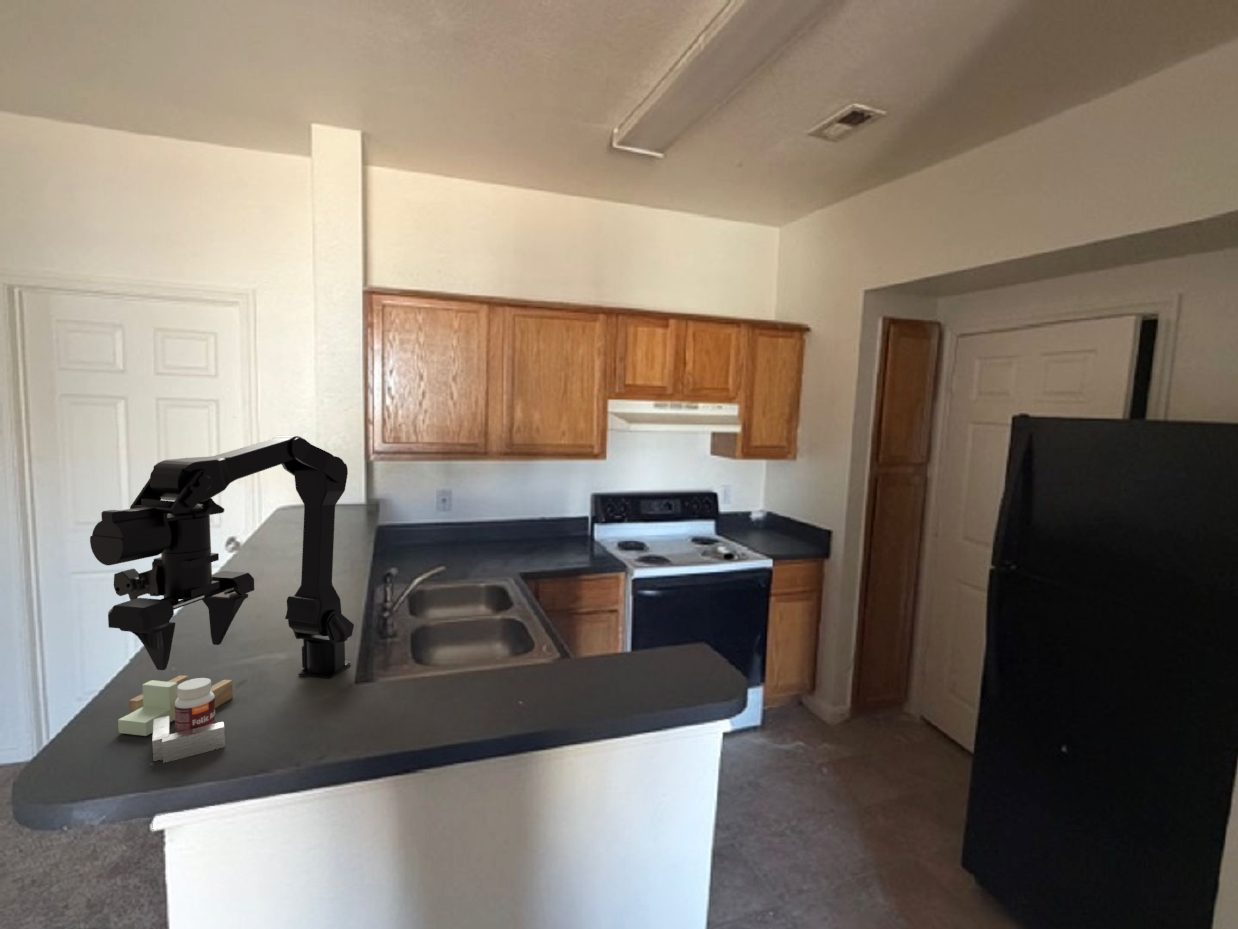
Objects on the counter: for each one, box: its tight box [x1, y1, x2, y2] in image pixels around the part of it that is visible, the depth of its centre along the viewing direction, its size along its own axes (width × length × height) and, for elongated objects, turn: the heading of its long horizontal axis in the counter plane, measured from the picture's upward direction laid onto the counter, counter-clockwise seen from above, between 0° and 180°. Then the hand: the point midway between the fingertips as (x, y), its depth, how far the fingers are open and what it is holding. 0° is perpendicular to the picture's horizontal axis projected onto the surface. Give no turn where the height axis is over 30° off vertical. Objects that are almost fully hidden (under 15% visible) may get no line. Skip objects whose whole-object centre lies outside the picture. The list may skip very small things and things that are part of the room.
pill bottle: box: [174, 677, 216, 733], centre depth 87 cm, size 5×5×8 cm
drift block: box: [117, 679, 178, 737], centre depth 90 cm, size 5×6×6 cm
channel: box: [128, 675, 234, 714], centre depth 96 cm, size 10×9×3 cm
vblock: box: [151, 716, 226, 764], centre depth 84 cm, size 11×6×3 cm, turn 81°
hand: (190, 656), depth 86 cm, fingers open, 9 cm apart
